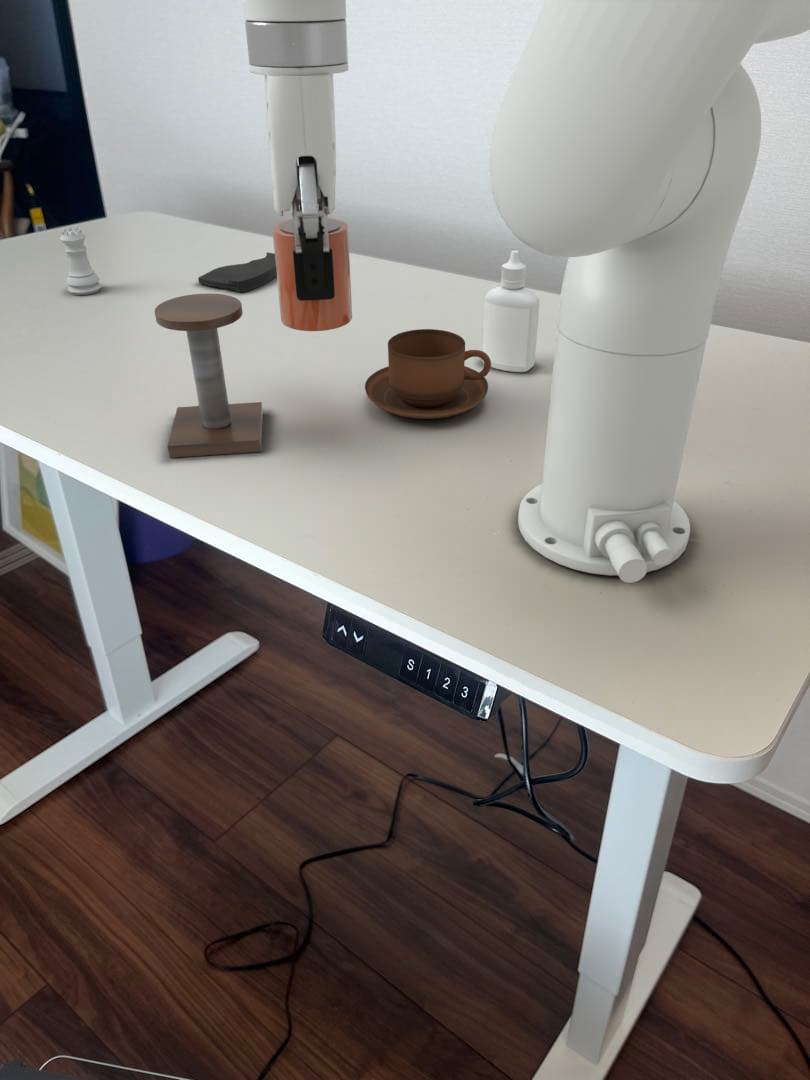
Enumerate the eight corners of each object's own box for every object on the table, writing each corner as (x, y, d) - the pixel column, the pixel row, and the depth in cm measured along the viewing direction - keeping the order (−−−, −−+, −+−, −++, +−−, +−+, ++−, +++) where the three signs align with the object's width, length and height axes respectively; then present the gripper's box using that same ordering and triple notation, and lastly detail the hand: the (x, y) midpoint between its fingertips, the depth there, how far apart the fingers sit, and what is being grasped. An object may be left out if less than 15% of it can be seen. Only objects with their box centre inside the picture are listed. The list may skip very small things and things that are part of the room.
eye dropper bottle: (506, 378, 85) (514, 261, 78) (476, 360, 89) (480, 248, 82) (540, 369, 87) (550, 254, 80) (508, 352, 91) (515, 241, 84)
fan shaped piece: (304, 268, 119) (303, 257, 118) (240, 294, 109) (239, 282, 108) (260, 260, 122) (259, 249, 121) (195, 284, 113) (194, 272, 112)
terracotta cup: (354, 329, 71) (350, 233, 67) (280, 333, 71) (271, 236, 66) (349, 305, 77) (345, 214, 72) (281, 308, 76) (272, 217, 71)
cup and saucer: (457, 371, 87) (458, 314, 84) (508, 417, 78) (512, 355, 74) (349, 389, 84) (346, 330, 80) (390, 439, 74) (388, 376, 71)
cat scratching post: (261, 452, 73) (244, 320, 66) (169, 458, 72) (142, 325, 65) (263, 413, 79) (248, 289, 72) (179, 418, 79) (156, 294, 72)
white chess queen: (68, 287, 113) (53, 227, 108) (102, 284, 114) (88, 224, 109) (67, 297, 109) (52, 235, 105) (102, 294, 110) (88, 232, 106)
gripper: (251, 42, 69) (273, 259, 79) (242, 60, 54) (270, 322, 65) (341, 40, 69) (350, 256, 79) (355, 58, 55) (364, 317, 65)
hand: (314, 283), depth 72 cm, fingers closed on terracotta cup, 6 cm apart
